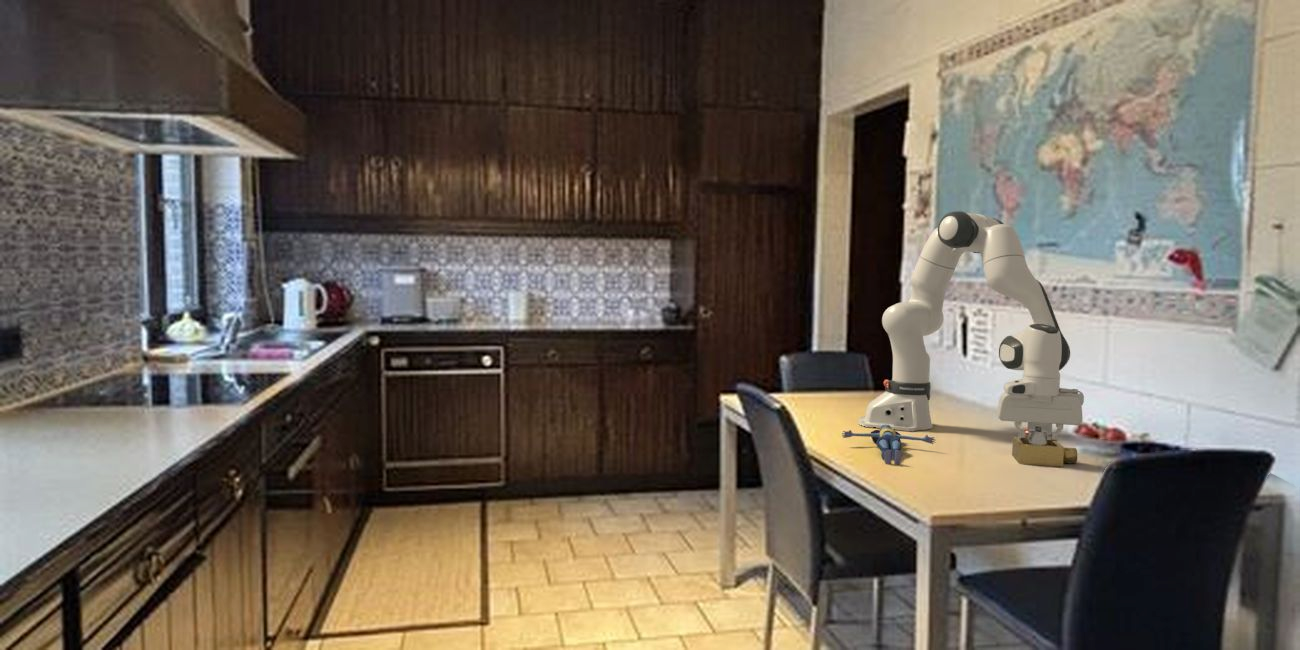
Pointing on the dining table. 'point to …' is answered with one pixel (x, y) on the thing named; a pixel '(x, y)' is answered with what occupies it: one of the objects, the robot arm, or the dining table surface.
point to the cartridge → (1037, 436)
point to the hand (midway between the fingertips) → (1037, 439)
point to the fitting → (1042, 453)
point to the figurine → (888, 442)
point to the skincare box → (1043, 427)
